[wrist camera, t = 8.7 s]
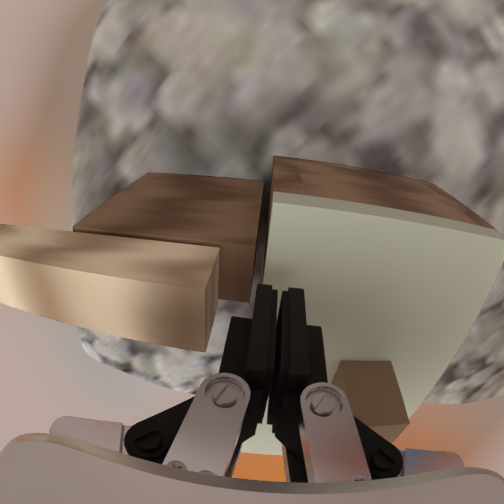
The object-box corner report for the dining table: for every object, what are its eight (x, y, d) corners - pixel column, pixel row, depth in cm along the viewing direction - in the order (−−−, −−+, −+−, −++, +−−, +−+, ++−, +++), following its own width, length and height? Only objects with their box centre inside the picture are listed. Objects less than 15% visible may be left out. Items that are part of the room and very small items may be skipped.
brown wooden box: (433, 183, 21) (511, 241, 12) (362, 373, 31) (378, 452, 22) (148, 147, 21) (67, 187, 12) (164, 354, 32) (135, 432, 23)
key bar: (219, 247, 13) (204, 289, 10) (217, 305, 14) (205, 352, 11) (-9, 222, 13) (-42, 246, 10) (3, 266, 14) (-26, 293, 12)
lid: (497, 230, 13) (560, 288, 8) (376, 439, 23) (384, 492, 18) (273, 191, 13) (271, 258, 8) (241, 438, 24) (234, 496, 18)
